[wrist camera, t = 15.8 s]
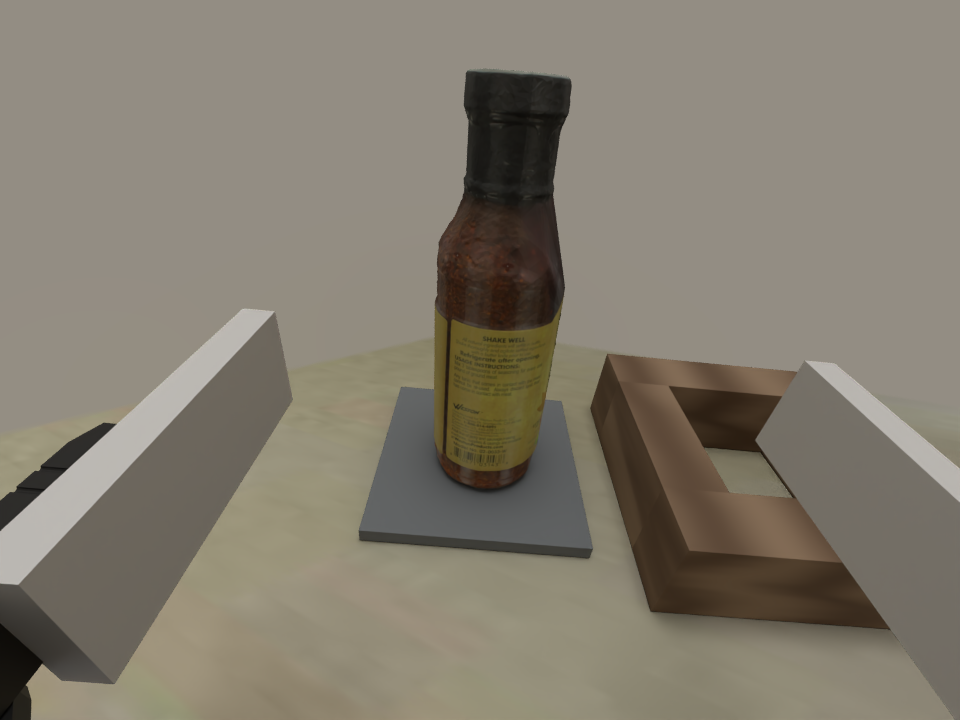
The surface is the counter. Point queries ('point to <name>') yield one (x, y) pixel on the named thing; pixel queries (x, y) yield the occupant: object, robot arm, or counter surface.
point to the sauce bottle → (500, 280)
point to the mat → (474, 492)
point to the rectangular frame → (713, 498)
